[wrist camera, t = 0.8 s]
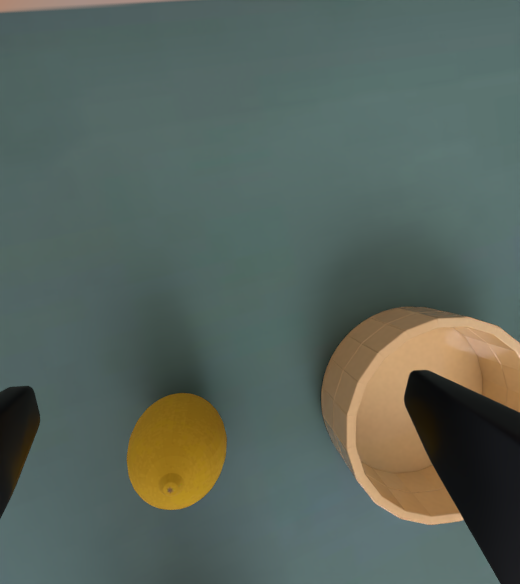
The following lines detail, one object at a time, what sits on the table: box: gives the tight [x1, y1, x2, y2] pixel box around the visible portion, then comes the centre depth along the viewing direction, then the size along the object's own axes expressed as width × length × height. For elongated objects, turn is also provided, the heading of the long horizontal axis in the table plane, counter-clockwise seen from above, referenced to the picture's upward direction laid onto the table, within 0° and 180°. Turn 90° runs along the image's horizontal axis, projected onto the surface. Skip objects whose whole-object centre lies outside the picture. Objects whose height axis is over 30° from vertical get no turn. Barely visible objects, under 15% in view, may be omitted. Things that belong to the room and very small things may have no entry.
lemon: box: [127, 393, 227, 510], centre depth 20 cm, size 6×6×8 cm
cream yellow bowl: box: [321, 307, 520, 525], centre depth 24 cm, size 13×13×5 cm
